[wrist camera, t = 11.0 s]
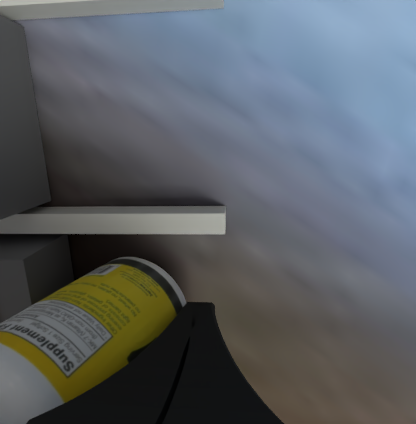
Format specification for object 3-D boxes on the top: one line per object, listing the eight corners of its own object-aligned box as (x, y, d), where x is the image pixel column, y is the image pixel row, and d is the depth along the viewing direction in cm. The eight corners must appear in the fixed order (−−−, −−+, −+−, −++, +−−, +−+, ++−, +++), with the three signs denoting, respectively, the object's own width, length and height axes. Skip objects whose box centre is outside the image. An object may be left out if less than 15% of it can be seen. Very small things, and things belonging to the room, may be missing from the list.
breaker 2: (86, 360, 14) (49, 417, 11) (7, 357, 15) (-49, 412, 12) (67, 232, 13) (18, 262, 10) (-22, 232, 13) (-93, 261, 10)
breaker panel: (227, 381, 14) (226, 425, 12) (-47, 370, 15) (-92, 408, 13) (223, -19, 10) (221, -59, 8) (-151, 5, 11) (-239, -25, 9)
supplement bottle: (175, 374, 13) (-38, 708, 5) (90, 321, 14) (-183, 534, 7) (208, 286, 11) (-33, 589, 4) (108, 234, 13) (-227, 385, 5)
